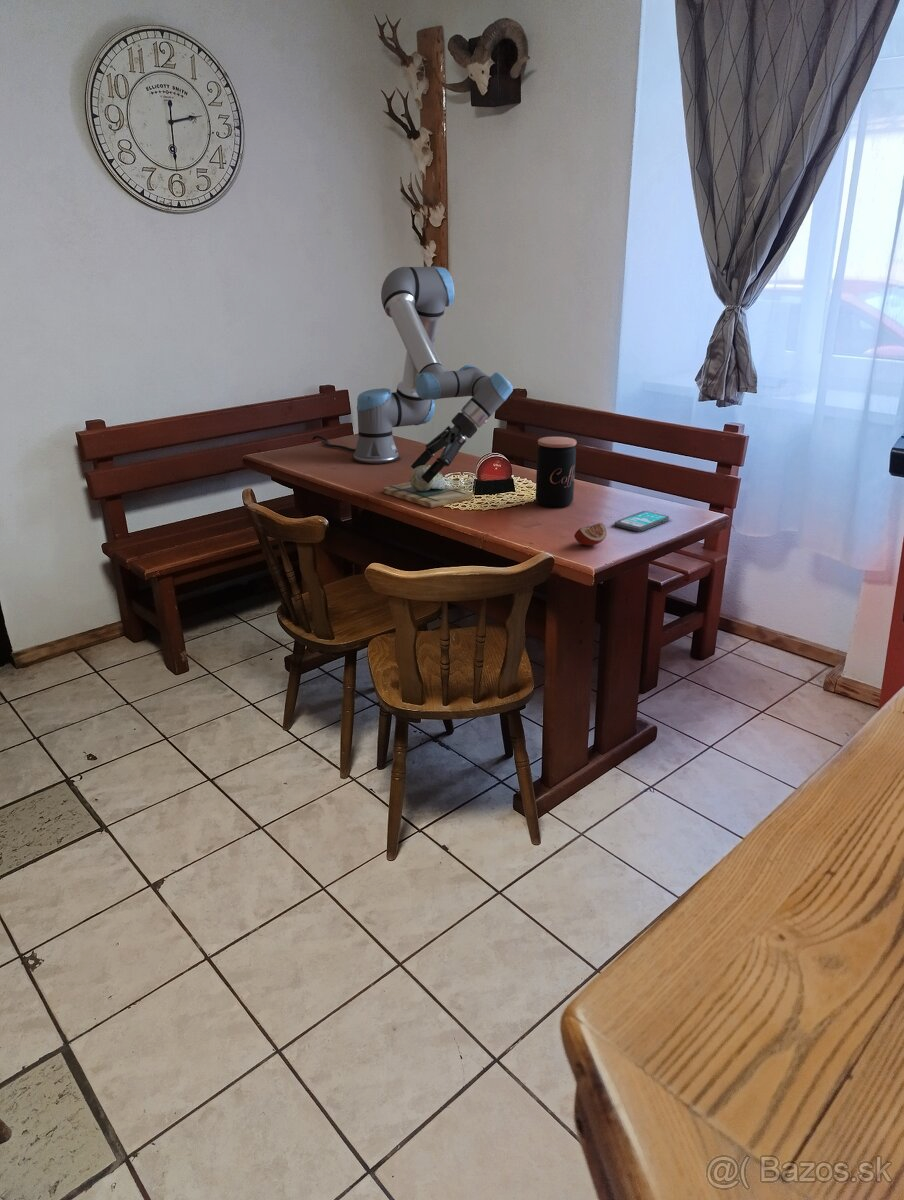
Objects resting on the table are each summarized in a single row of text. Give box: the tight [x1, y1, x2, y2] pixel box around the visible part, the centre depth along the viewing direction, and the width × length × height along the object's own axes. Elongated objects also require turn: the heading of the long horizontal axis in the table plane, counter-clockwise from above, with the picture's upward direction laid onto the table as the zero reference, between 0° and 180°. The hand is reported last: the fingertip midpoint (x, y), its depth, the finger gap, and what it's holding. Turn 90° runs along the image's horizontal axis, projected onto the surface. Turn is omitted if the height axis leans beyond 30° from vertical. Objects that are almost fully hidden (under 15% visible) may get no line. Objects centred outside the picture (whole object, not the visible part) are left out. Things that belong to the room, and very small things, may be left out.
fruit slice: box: [573, 522, 608, 546], centre depth 197 cm, size 8×7×5 cm
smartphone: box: [614, 510, 670, 532], centre depth 214 cm, size 9×1×15 cm
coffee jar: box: [535, 436, 578, 509], centre depth 228 cm, size 11×11×18 cm
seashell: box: [409, 464, 446, 492], centre depth 238 cm, size 10×10×10 cm
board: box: [382, 481, 474, 509], centre depth 239 cm, size 22×16×2 cm
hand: (419, 474), depth 237 cm, fingers open, 13 cm apart
